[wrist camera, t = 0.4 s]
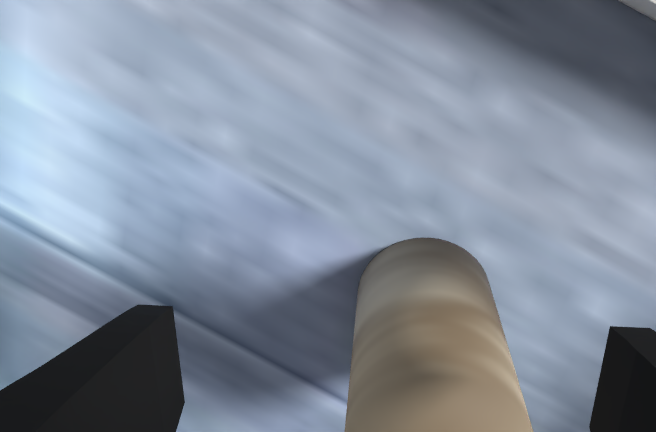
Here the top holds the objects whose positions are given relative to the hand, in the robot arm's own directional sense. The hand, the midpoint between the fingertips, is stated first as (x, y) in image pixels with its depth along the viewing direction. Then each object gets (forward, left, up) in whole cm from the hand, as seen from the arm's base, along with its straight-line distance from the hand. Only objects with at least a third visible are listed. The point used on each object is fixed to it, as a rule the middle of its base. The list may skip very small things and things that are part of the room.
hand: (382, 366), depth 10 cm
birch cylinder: (-3, +3, -10) cm, 11 cm away
